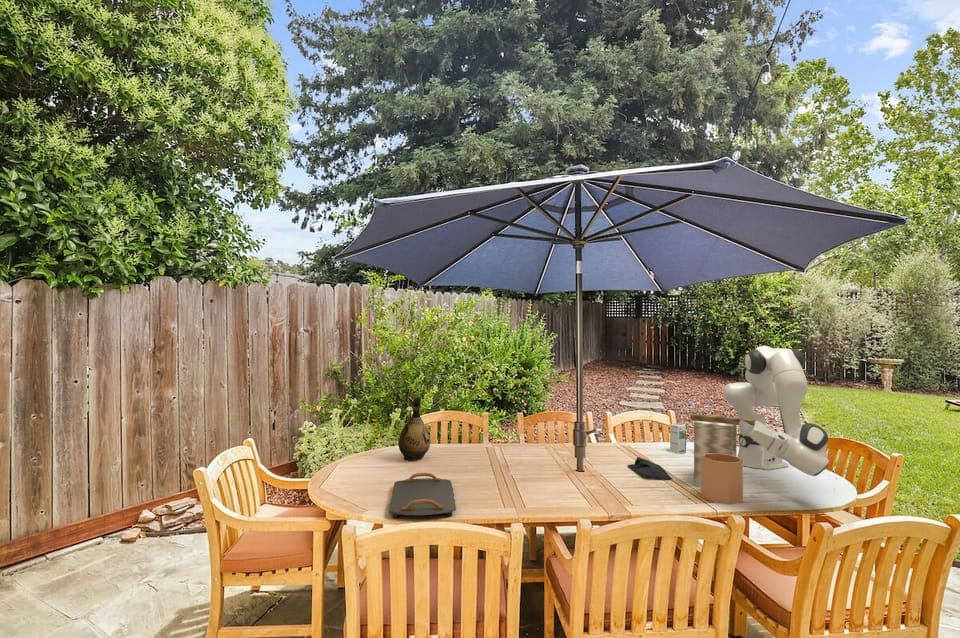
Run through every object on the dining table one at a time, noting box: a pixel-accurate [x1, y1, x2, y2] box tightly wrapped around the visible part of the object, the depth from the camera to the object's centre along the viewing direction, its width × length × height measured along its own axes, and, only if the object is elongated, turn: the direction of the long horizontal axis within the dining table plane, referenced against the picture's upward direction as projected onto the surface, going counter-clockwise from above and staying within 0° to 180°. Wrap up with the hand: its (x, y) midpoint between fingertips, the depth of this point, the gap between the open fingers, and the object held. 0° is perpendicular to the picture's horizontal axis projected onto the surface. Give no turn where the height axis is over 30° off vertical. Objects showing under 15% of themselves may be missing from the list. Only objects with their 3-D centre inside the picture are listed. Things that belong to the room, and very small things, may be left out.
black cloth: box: [627, 456, 673, 481], centre depth 221 cm, size 15×22×5 cm
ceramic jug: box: [398, 395, 431, 462], centre depth 242 cm, size 17×15×30 cm
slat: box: [690, 413, 755, 426], centre depth 190 cm, size 22×4×2 cm, turn 59°
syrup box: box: [669, 423, 687, 455], centre depth 258 cm, size 6×6×14 cm
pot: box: [700, 453, 744, 505], centre depth 190 cm, size 14×14×15 cm
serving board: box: [388, 472, 457, 520], centre depth 183 cm, size 39×23×6 cm, turn 7°
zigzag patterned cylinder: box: [693, 421, 738, 487], centre depth 209 cm, size 14×22×26 cm, turn 148°
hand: (740, 420), depth 187 cm, fingers closed on slat, 4 cm apart
